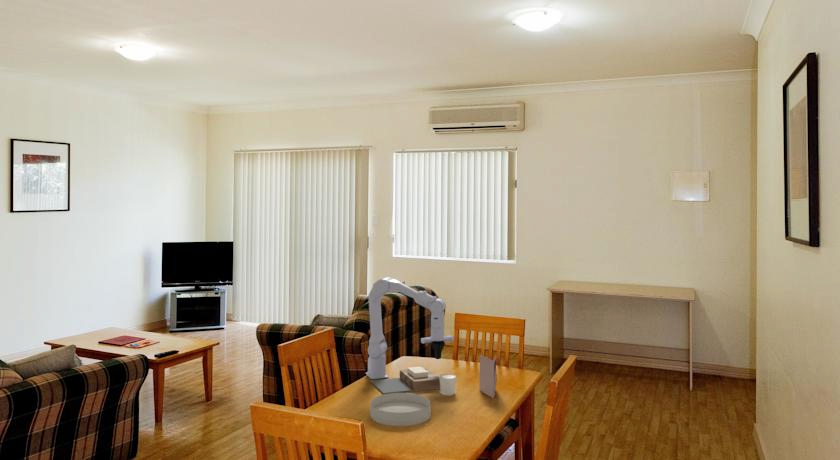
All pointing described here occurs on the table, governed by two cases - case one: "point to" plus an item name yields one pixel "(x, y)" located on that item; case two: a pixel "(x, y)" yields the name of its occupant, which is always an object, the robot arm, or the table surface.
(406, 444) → the table surface
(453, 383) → the white cup
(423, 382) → the platform
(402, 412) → the dish
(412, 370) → the tile
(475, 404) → the table surface
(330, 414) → the table surface
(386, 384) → the mat
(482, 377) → the greeting card
